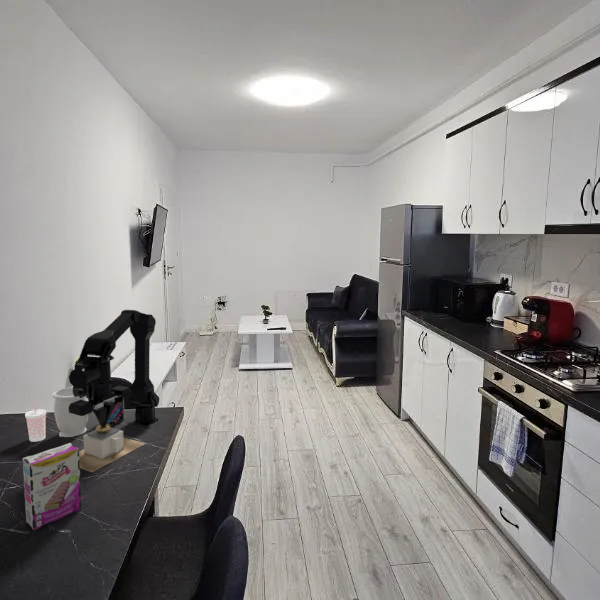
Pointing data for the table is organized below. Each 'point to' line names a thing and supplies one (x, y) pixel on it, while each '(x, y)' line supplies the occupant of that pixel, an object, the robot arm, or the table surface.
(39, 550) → the table surface
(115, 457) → the serving board
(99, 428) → the gold push button
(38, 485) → the candy bar box
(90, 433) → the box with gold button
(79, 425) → the jar
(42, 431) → the beverage cup
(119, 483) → the table surface
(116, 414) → the supplement container
